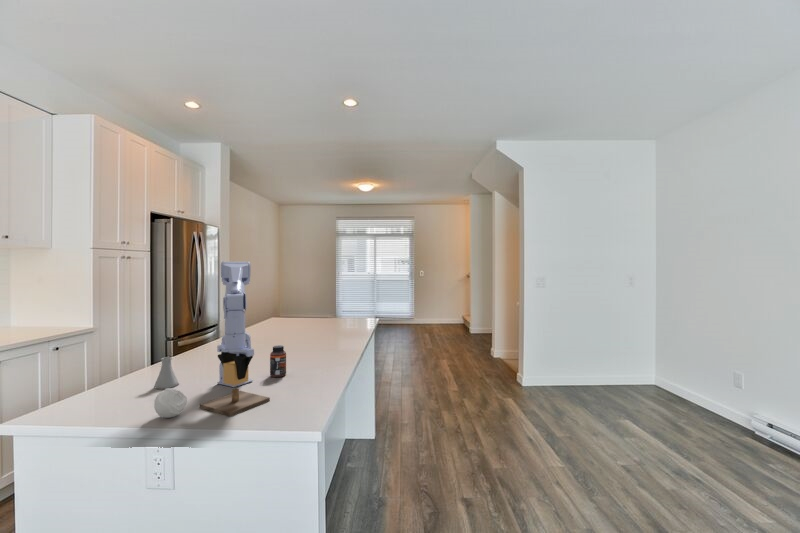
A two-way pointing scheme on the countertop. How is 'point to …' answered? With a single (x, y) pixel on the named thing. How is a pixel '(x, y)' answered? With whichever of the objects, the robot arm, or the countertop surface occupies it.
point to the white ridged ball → (170, 403)
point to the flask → (166, 375)
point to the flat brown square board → (234, 402)
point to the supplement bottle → (278, 362)
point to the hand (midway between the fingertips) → (235, 377)
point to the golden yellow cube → (232, 374)
